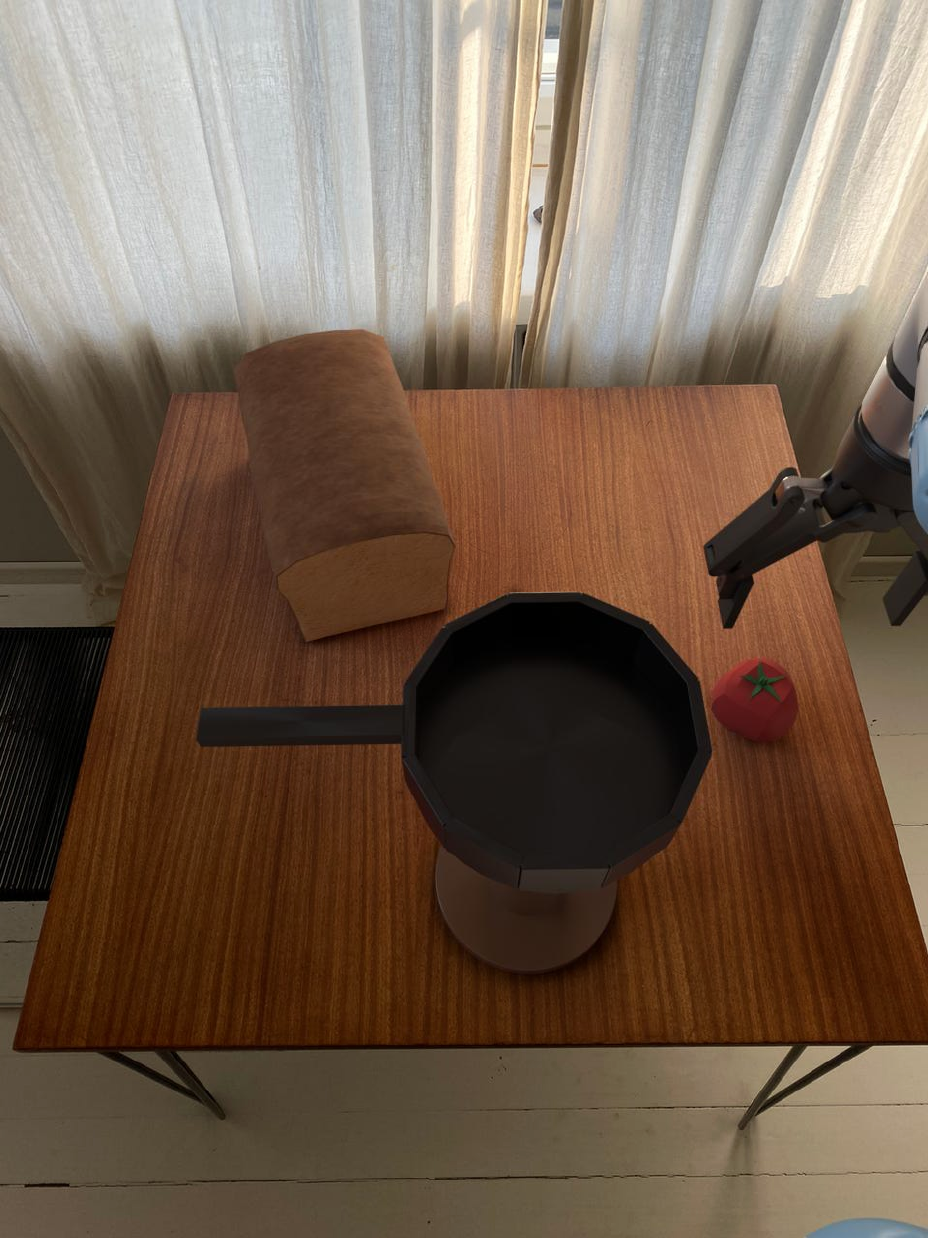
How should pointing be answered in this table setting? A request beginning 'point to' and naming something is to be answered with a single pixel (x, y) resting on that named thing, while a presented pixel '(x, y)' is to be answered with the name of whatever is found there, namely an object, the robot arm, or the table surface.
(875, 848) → the table surface
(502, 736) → the pan
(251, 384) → the bread
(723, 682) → the tomato
